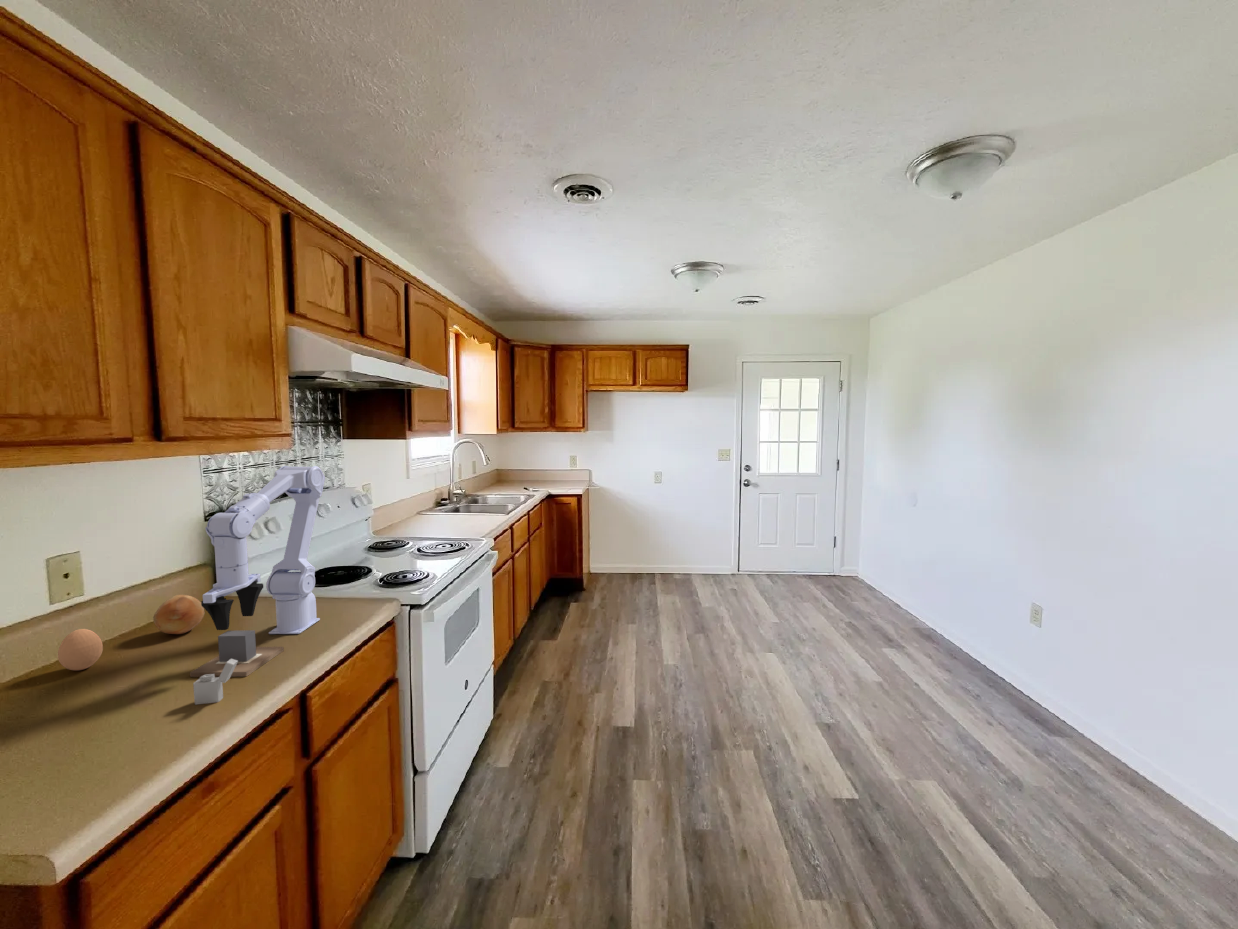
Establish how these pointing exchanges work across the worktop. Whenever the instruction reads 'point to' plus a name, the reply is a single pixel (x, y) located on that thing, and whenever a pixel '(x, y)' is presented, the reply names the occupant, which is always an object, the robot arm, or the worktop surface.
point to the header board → (239, 663)
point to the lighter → (212, 685)
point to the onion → (178, 614)
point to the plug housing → (237, 645)
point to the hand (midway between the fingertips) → (235, 622)
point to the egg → (80, 649)
